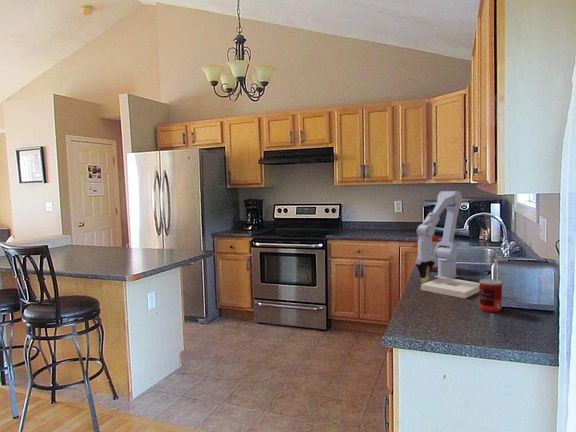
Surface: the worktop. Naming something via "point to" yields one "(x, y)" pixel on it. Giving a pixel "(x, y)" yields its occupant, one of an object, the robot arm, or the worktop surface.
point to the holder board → (451, 287)
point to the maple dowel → (427, 277)
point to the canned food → (490, 295)
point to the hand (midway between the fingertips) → (425, 276)
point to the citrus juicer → (434, 244)
